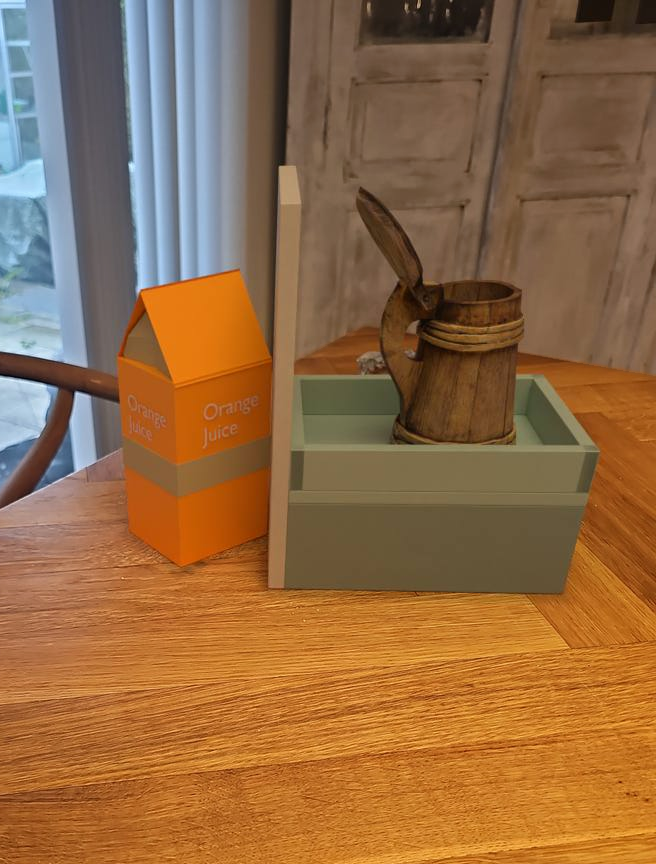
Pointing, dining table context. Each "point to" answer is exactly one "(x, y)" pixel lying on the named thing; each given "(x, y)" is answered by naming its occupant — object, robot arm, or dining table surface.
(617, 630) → the dining table surface
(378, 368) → the grey rock
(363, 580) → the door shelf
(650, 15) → the robot arm
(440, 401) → the wooden mug
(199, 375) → the orange juice
